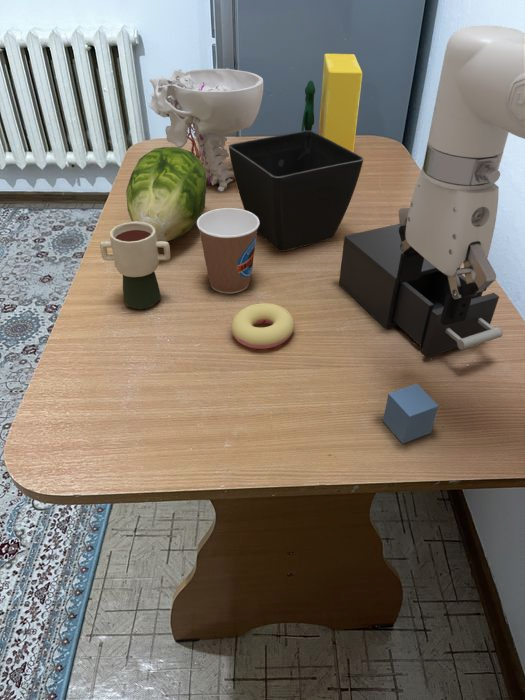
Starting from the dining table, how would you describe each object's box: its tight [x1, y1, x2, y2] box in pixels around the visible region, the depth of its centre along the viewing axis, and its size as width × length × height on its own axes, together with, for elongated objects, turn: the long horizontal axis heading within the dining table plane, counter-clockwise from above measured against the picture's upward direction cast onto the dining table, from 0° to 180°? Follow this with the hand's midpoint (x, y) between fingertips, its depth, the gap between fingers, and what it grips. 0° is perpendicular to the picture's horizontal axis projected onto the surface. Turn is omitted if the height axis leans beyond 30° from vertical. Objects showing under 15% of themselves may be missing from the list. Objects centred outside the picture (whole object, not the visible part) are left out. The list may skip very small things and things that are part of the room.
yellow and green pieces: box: [300, 53, 363, 153], centre depth 136 cm, size 18×12×24 cm
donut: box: [231, 302, 295, 350], centre depth 88 cm, size 10×5×9 cm
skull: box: [149, 68, 264, 192], centre depth 127 cm, size 25×19×23 cm
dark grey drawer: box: [392, 271, 503, 359], centre depth 86 cm, size 18×11×8 cm, turn 25°
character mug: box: [99, 221, 171, 309], centre depth 92 cm, size 11×7×13 cm, turn 92°
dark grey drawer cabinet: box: [338, 223, 461, 330], centre depth 95 cm, size 15×13×10 cm
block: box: [382, 383, 440, 445], centre depth 72 cm, size 4×4×5 cm
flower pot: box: [228, 130, 365, 252], centre depth 110 cm, size 19×19×17 cm
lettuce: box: [125, 146, 208, 242], centre depth 110 cm, size 15×27×16 cm, turn 177°
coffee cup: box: [196, 207, 260, 295], centre depth 96 cm, size 10×10×12 cm
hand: (429, 299), depth 70 cm, fingers open, 9 cm apart
